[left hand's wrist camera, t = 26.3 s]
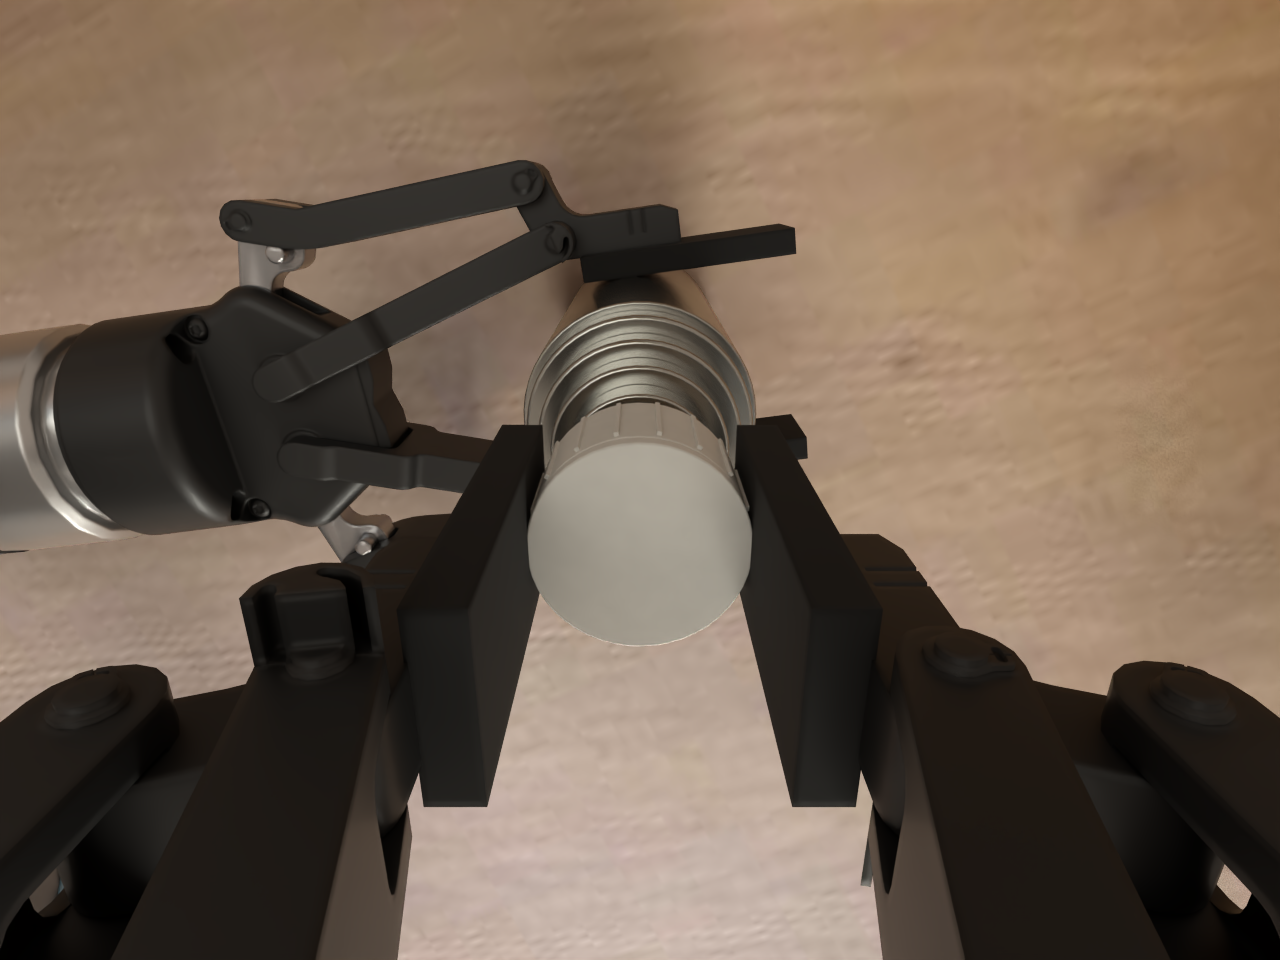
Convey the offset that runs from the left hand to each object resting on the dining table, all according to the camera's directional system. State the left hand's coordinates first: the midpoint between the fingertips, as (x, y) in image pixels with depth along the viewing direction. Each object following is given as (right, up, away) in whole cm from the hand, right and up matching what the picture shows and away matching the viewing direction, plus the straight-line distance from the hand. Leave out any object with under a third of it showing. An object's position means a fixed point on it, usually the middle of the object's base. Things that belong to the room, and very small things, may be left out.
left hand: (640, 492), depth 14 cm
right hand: (+5, +5, +10) cm, 13 cm away
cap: (0, -1, -2) cm, 2 cm away
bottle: (0, +7, +17) cm, 18 cm away
